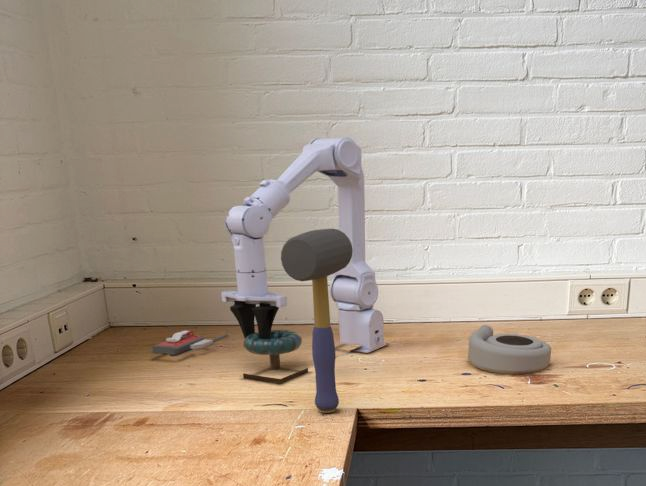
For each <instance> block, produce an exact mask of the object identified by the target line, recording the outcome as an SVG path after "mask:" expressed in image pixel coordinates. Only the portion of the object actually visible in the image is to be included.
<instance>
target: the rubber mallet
mask: <svg viewBox="0 0 646 486" xmlns="http://www.w3.org/2000/svg"><path fill="white" fill-rule="evenodd" d="M352 251H353V250H352V244H351V242H350V240H349V238H348V237H347V236H346V235H345V233H343V232H341V231H340V230H339V229H337V228H321V229H314V230H308V231H306V232H302V233H300V234H297V235H294V236H293V237H290V238H289V239H288V240H286V242H285V243H284V244H283V246H282V249H281V252H280V260H281V266H282V267H283V270H284V271H285V273H286V274H287V275H288V276H289V278H292V279H293V280H295V281H299V282H307V281H309V282H310V281H311V283H312V301H313V302H312V303H313V321H314V322H313V323H314V326H313V328H312V334H311V335H312V339H311V352H312V353H311V354H312V361H313V366H314V372H315V373H314V374H315V388H316V389H315V390H316V391H315V398H314V405H315V407H316V408H317V409H318V411H319V412H320V413H323V414H330V413H334V412H336V411H337V408H338V406H339V403H340V401H339V396H338V395H339V394H338V392H337V386H336V385H337V384H336V372H335V371H336V369H335V368H336V346H335V345H336V344H335V338H334V332H333V329H332V325H331V314H330V313H331V312H330V299H329V298H330V297H329V285H328V277H329V276H331V275H333V274H334V273H336V272H338V271H340V270H341V269H343V268H345V267H346V266H347V265H348V264H349V263H350V260H351V258H352Z"/></svg>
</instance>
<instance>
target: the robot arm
mask: <svg viewBox="0 0 646 486" xmlns="http://www.w3.org/2000/svg"><path fill="white" fill-rule="evenodd" d="M316 172H318V173H320V174H322V175H324V176H325V177H328V178H329V179H330V180H331V181H332V182H333V183H334V184H335V185H336V186H337V194H338V195H337V196H338V197H337V198H338V200H337V201H338V230H340V231H341V232H343V233H345V235H346V236H347V237H348V238H349V240H350V242H351V244H352V250H353V251H352V258H351V260H350V263H349V264H348V265H347V266H346V267H345V268H343V269H341V270H340V271H338V272H336V273H334V274H332V276H331V277H332V278H331V282H330V284H329V295H330V298H331V300H332V301H333V302H334V303H335V307H336V308H337V311H338V314H337V315H338V330H339V334H338V335H339V343H341V345H342V344H343V345H346V346H347V345H349V346H358V347H355V348H353V349H350V350H349V352H355V353H364V354H369V353H372V352H373V351H376V350H378V349H380V348H383V347H385V346H387V343H386V342H385V328H384V327H385V325H384V323H385V322H384V316H383V313H382V311H380V310H379V309H375V308H374V305H375V304H376V302H377V300H378V296H379V286H378V284H377V282H376V272H375V271H374V269H372V267H370V266H369V264H368V263H367V262H366V212H365V211H366V210H365V209H366V207H365V206H366V205H365V204H366V203H365V202H366V201H365V199H366V198H365V197H366V195H365V174H364V171H363V167H362V148H361V147H360V146H359V145H358V144H357V143H356V141H354V139H352V138H351V137H349V136H345V137H338V138H337V137H334V138H332V137H331V138H321V137H315V138H312V139H311V140H310V141H309V142H308V144H306V145H304V146H303V147H302V152H301V153H300V154H299V155H298V156H297V157H296V158H295V160H294V161H293V162H291V164H290V165H289V166H288V167H287V168H286V169H285V171H284V172H282V174H281V175H280V176H279V177H278V178H277V179H273V178H272V179H270V178H269V179H266V180H265V179H263V180H261V182H259V186H260V187H258V188H257V189H256V190H255V191H254V192H253V193H252V194H251V195H250V196H246V197H245V198H244V199H243V203H242V204H241V205H235V206H233V207H232V208H231V209H229V211H228V212H227V215H226V221H224V222H223V223H224V228H225V230H226V231H227V233H228V234H229V236H230V238H231V244H232V245H233V246H232V247H233V256H234V265H235V266H234V267H235V275H236V276H235V277H236V287H237V290H223V291H221V292H220V293H221V302H222V303H230V302H231V303H233V305H231V306H230V308H229V310H230V312H231V314H233V316H234V317H235V319H236V321H237V323H238V324H239V326H240V329H241V332H242V335H243V338H244V340H245V339H246V337H247V336H248V335H250V334H252V333H256V327H255V326H257V329H258V330H257V332H258V333H259V339H270V334H271V330H272V327H273V324H274V320H275V317H276V315H277V313H278V311H279V309H280V308H284V307H287V306H288V301H287V299H288V298H287V295H284V294H278V293H273V292H269V286H268V274H267V262H266V251H265V250H266V249H265V239H264V236H265V235H267V234H268V232H269V230H270V224H271V222H272V221H273V219H274V218H275V217H276V216H278V214H280V212H281V211H283V209H285V208H286V207H287V206H288V205H289V203H290V201H291V195H290V194H291V193H293V191H295V190H296V189H297V188H299V186H301V185H302V184H303V183H304V182H306V180H308V179H309V178H311V177H312V176H313V175H314V174H315V173H316ZM255 321H256V325H255Z"/></svg>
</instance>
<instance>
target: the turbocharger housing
mask: <svg viewBox="0 0 646 486" xmlns="http://www.w3.org/2000/svg"><path fill="white" fill-rule="evenodd" d="M551 355H552V347H551V346H550V344H549V343H547V342H545V341H542V340H539V338H535V337H534V336H529V335H527V334H526V335H525V334H518V333H499V334H494V329H493V327H492V326H491V325H488V324H482V325H481V326H480V327H479V328H478V329H477V330H475V331H473V332H472V333H471V334H470V335H469V338H468V349H467V359H468V361H469V363H470V364H471V365H472V366H474V367H475V368H477V369H480V370H483V371H487V372H491V373H495V374H497V373H498V374H507V375H522V374H531V373H536V372H539V371H540V372H541V371H542V370H544V369H546V368H547V367H548V366H549V365H550V363H551V357H552V356H551Z"/></svg>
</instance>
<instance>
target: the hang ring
mask: <svg viewBox="0 0 646 486" xmlns="http://www.w3.org/2000/svg"><path fill="white" fill-rule="evenodd" d="M302 343H303V337H302V336H301V334H299V333H298V332H297V331H296V332H295V331H294V330H289V329H271V334H270V339H259V333H258V331H255V333H252V334H250V335H248V336H247V337H246V339H245V338H244V340H243V347H244V349H245V350H246V351H248V352H249V353H251V354H254V355H260V356H269V355H278V354H280V355H283V354H289V353H292V352H294V351H297V350H299V349H300V348H301V345H302Z"/></svg>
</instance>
